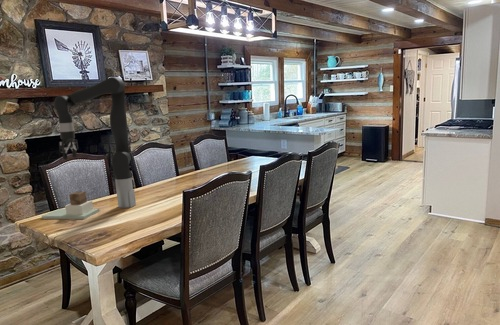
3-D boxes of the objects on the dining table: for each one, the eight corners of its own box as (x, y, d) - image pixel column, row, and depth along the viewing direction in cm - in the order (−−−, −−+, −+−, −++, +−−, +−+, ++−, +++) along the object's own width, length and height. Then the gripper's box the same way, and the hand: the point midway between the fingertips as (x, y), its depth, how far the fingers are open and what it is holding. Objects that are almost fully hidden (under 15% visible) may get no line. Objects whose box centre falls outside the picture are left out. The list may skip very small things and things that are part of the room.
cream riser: (93, 209, 218) (92, 200, 217) (82, 214, 208) (81, 205, 207) (77, 209, 219) (76, 200, 219) (66, 214, 210) (65, 205, 209)
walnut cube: (86, 201, 215) (85, 191, 214) (80, 204, 209) (79, 194, 208) (77, 201, 216) (76, 191, 215) (70, 204, 210) (69, 194, 210)
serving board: (99, 211, 218) (98, 208, 218) (84, 219, 205) (84, 216, 204) (58, 211, 223) (58, 208, 223) (42, 218, 210) (41, 216, 209)
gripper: (64, 131, 213) (68, 160, 216) (80, 129, 227) (83, 156, 229) (52, 132, 214) (56, 160, 217) (68, 129, 228) (72, 156, 231)
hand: (70, 158), depth 223 cm, fingers open, 8 cm apart
